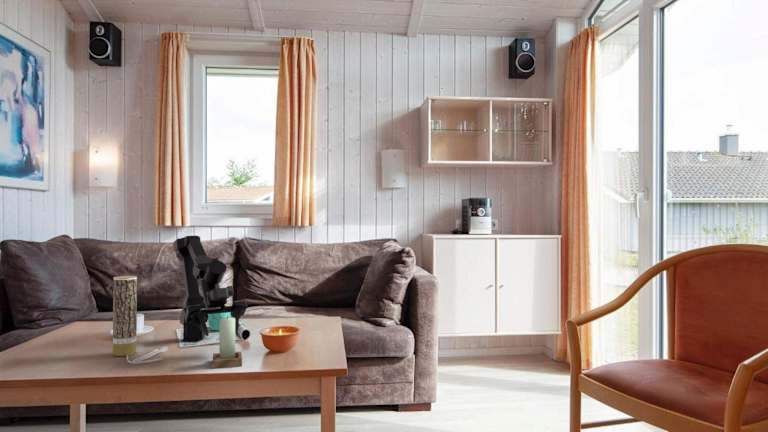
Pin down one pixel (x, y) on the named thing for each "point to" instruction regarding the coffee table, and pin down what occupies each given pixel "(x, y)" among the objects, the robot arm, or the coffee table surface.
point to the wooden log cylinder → (124, 315)
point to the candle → (227, 338)
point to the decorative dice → (217, 320)
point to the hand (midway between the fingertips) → (222, 333)
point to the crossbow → (149, 356)
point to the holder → (226, 361)
